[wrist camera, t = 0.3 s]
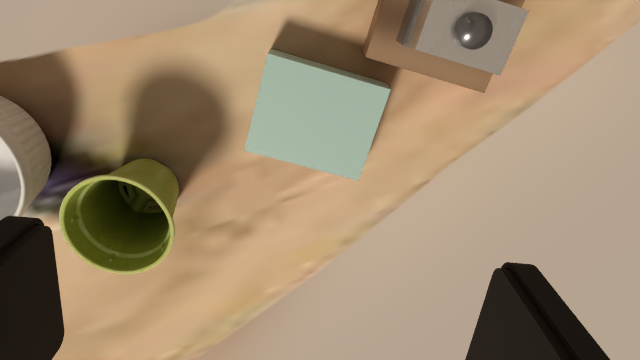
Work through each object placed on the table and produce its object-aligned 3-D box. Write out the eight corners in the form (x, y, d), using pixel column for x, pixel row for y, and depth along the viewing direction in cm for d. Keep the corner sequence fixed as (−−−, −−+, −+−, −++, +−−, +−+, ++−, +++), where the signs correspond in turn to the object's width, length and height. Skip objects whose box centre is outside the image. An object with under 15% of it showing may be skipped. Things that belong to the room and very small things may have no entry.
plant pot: (176, 131, 44) (147, 164, 36) (209, 215, 48) (189, 262, 40) (86, 153, 45) (38, 190, 37) (125, 234, 49) (89, 284, 41)
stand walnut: (396, -55, 38) (402, -58, 35) (515, -15, 40) (530, -14, 37) (361, 52, 42) (365, 57, 39) (473, 85, 43) (484, 93, 40)
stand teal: (270, 48, 41) (267, 53, 39) (385, 82, 43) (390, 89, 40) (248, 140, 45) (244, 150, 42) (355, 168, 46) (358, 180, 43)
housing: (417, -23, 36) (441, -23, 30) (497, 4, 37) (538, 9, 31) (395, 40, 38) (413, 53, 32) (472, 64, 39) (505, 81, 33)
